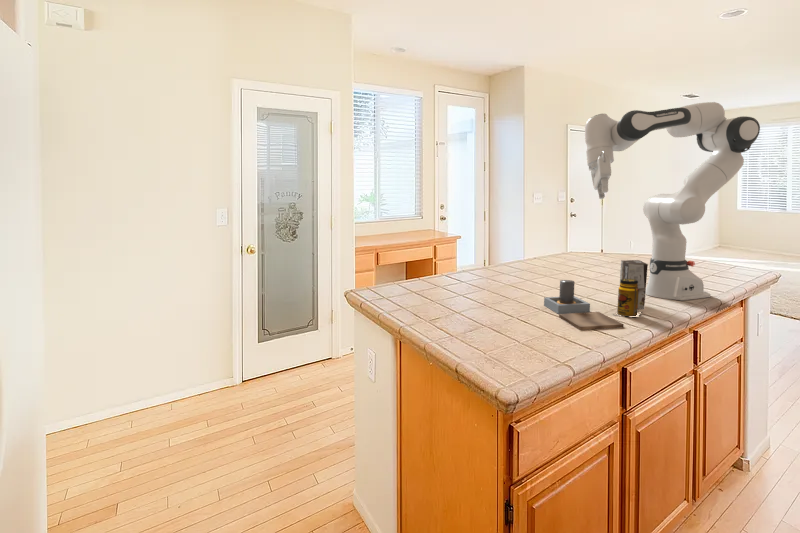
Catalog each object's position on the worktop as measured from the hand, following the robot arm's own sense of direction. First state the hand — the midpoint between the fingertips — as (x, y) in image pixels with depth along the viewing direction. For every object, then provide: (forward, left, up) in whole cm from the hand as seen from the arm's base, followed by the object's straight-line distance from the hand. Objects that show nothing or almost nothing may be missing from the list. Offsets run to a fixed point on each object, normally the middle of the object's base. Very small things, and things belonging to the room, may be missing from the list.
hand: (603, 195), depth 161 cm
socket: (+17, +8, -39) cm, 44 cm away
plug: (+17, +8, -39) cm, 44 cm away
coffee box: (-7, +9, -40) cm, 41 cm away
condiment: (0, +18, -40) cm, 44 cm away
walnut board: (+17, +24, -39) cm, 49 cm away
